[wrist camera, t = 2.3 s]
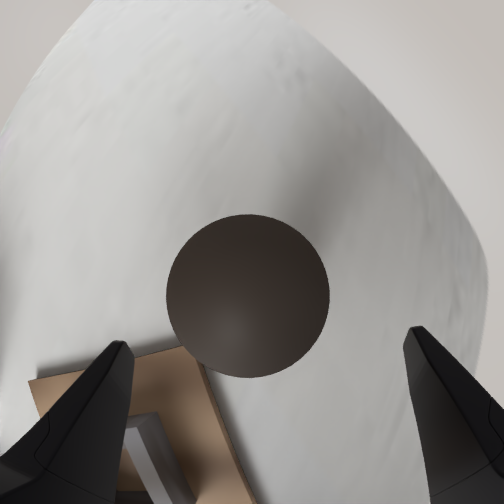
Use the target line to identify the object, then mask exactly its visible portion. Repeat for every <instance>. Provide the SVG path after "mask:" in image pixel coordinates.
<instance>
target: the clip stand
mask: <svg viewBox="0 0 504 504" xmlns="http://www.w3.org/2000/svg"><path fill="white" fill-rule="evenodd" d="M85 370H86V369H84V370H80V371H75V372H70V373H65V374H60V375H55V376H50V377H45V378H39V379H34V380H30V381H28V383H29V386H30V389H31V393H32V396H33V399H34V402H35V404H36V407H37V410H38V413H39V416H40V418H42V417H43V415H44V414H45V413H46V412H47V411H49V409H50V408H51V407H52V406H53V404H54V403H55V402H56V401H57V400H58V399H59V398H60V397H61V396H62V395H63V393H64V392H65V391H66V390H67V389H68V388H69V387H70V386H71V385H72V384H73V383H74V382H75V380H76V379H77V378H78V377H79V376H80V375H81V374H82V373H83V372H84V371H85ZM114 504H257V502H256V500H255V497H254V495H253V493H252V491H251V488H250V486H249V484H248V481H247V479H246V477H245V475H244V472H243V470H242V467H241V465H240V463H239V460H238V458H237V455H236V453H235V450H234V448H233V446H232V443H231V441H230V438H229V435H228V433H227V430H226V428H225V425H224V423H223V420H222V417H221V415H220V412H219V409H218V407H217V404H216V401H215V398H214V396H213V393H212V390H211V387H210V384H209V382H208V379H207V376H206V373H205V370H204V367H203V364H202V363H200V362H199V361H198V360H196V359H195V358H194V357H193V356H192V355H191V354H190V353H189V352H188V351H187V350H186V349H185V348H184V346H183V345H182V346H178V347H175V348H171V349H167V350H163V351H160V352H156V353H152V354H148V355H144V356H140V357H136V358H135V364H134V374H133V384H132V395H131V403H130V409H129V414H128V419H127V425H126V430H125V436H124V441H123V447H122V453H121V460H120V466H119V473H118V480H117V487H116V495H115V502H114Z"/></svg>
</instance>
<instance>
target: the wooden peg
mask: <svg viewBox="0 0 504 504" xmlns="http://www.w3.org/2000/svg"><path fill="white" fill-rule="evenodd" d="M166 302H167V310H168V315H169V319H170V322H171V325H172V327H173V330H174V332H175V334H176V336H177V338H178V339H179V341H180V342H181V344H182V345H183V346H184V348H185V349H186V350H187V351H188V352H189V353H190V354H191V355H192V356H193V357H194V358H195V359H196V360H198V361H199V362H200V363H202V364H203V365H205V366H206V367H208V368H210V369H212V370H214V371H216V372H219V373H222V374H225V375H228V376H234V377H240V378H254V377H262V376H267V375H271V374H274V373H277V372H279V371H282V370H284V369H286V368H287V367H289V366H291V365H293V364H294V363H295V362H297V361H298V360H299V359H301V358H302V357H303V356H304V355H305V354H306V353H307V352H308V351H309V350H310V348H311V347H312V346H313V345H314V343H315V342H316V340H317V339H318V337H319V335H320V334H321V332H322V329H323V327H324V324H325V322H326V318H327V314H328V309H329V302H330V290H329V283H328V278H327V274H326V270H325V268H324V265H323V263H322V261H321V258H320V257H319V255H318V253H317V252H316V250H315V249H314V247H313V246H312V245H311V244H310V242H309V241H308V240H307V239H306V238H305V237H304V236H303V235H302V234H301V233H299V232H298V231H297V230H295V229H294V228H292V227H291V226H289V225H287V224H285V223H284V222H281V221H279V220H276V219H274V218H270V217H266V216H261V215H253V214H249V215H235V216H230V217H226V218H223V219H220V220H217V221H215V222H213V223H211V224H209V225H207V226H205V227H204V228H202V229H201V230H200V231H198V232H197V233H196V234H194V235H193V236H192V237H191V238H190V239H189V240H188V241H187V242H186V244H185V245H184V246H183V247H182V249H181V250H180V252H179V253H178V255H177V257H176V258H175V261H174V263H173V265H172V267H171V270H170V274H169V277H168V283H167V290H166Z"/></svg>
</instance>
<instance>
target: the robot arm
mask: <svg viewBox="0 0 504 504" xmlns="http://www.w3.org/2000/svg"><path fill="white" fill-rule="evenodd" d="M403 351H404V357H405V363H406V370H407V377H408V385H409V391H410V396H411V400H412V404H413V408H414V413H415V417H416V422H417V426H418V431H419V436H420V441H421V446H422V451H423V457H424V462H425V468H426V474H427V480H428V487H429V494H430V502H431V504H504V409H503V408H502V407H501V406H500V405H499V404H498V403H497V402H496V401H495V400H494V398H493V397H491V395H490V394H489V393H488V392H487V391H486V390H485V389H484V388H483V387H482V386H481V385H480V383H479V382H478V381H477V380H476V379H475V378H474V377H473V376H472V375H471V374H470V373H469V372H468V371H467V370H466V369H465V368H464V367H463V366H462V365H461V364H460V363H459V362H458V361H457V360H456V359H455V358H454V357H453V356H452V355H451V354H450V353H449V352H448V350H447V349H446V348H445V347H444V346H443V345H441V344H440V343H439V342H438V341H437V340H436V339H435V338H434V337H433V336H432V335H431V334H430V333H429V332H428V331H427V330H426V329H425V328H424V327H423V326H414V327H411V328H410V329H409V330H408V333H407V336H406V338H405V341H404V344H403ZM134 364H135V358H134V355H133V353H132V351H131V350H130V348H129V346H128V345H127V343H126V342H125V341H118V340H115V341H113V342H111V343H110V344H109V345H108V346H107V347H106V349H105V350H104V351H103V352H102V353H101V354H100V355H99V356H98V357H97V358H96V359H95V360H94V361H93V362H92V363H91V364H90V365H89V366H88V368H87V369H86V370H85V371H84V372H83V373H82V374H81V375H80V376H79V377H78V378H77V379H76V380H75V382H74V383H73V384H72V385H71V386H70V387H69V388H68V389H67V390H66V391H65V392H64V393H63V395H62V396H61V397H60V398H59V399H58V400H57V401H56V402H55V403H54V404H53V406H52V407H51V408H50V409H49V411H47V412H46V413H45V414H44V415H43V417H42V418H41V419H40V420H39V421H38V422H37V423H36V424H35V425H34V426H33V427H32V428H31V429H30V430H29V431H28V432H27V433H26V434H25V435H24V436H23V437H22V438H21V439H20V440H19V441H18V442H16V443H15V444H14V445H13V446H12V447H11V448H10V449H9V450H8V451H7V452H6V453H4V454H3V455H2V456H0V504H114V502H115V495H116V487H117V480H118V473H119V466H120V460H121V453H122V447H123V441H124V436H125V430H126V425H127V419H128V414H129V409H130V403H131V395H132V384H133V374H134Z"/></svg>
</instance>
